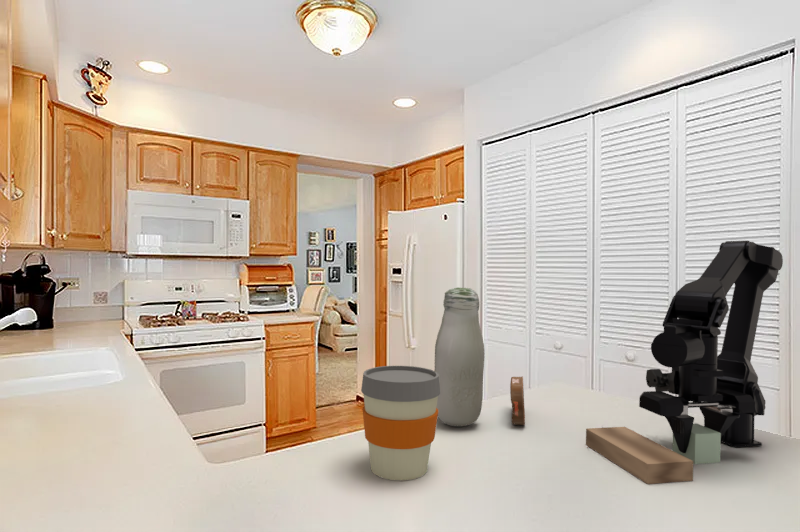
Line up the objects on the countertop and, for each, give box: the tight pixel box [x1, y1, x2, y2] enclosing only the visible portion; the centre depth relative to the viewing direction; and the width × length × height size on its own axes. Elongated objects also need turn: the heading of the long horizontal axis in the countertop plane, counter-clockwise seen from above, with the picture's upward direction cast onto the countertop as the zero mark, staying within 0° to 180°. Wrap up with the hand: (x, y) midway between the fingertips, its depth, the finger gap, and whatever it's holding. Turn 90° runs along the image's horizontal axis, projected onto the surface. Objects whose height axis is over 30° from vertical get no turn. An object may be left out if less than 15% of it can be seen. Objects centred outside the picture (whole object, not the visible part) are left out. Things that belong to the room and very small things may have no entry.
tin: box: [509, 376, 526, 427], centre depth 102 cm, size 15×3×8 cm, turn 165°
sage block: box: [671, 423, 722, 465], centre depth 83 cm, size 5×5×5 cm
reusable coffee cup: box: [360, 365, 440, 482], centre depth 75 cm, size 13×13×15 cm
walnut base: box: [585, 426, 694, 485], centre depth 80 cm, size 8×16×3 cm, turn 11°
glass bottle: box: [433, 287, 486, 428], centre depth 97 cm, size 10×10×28 cm
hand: (695, 451), depth 83 cm, fingers closed on sage block, 5 cm apart
